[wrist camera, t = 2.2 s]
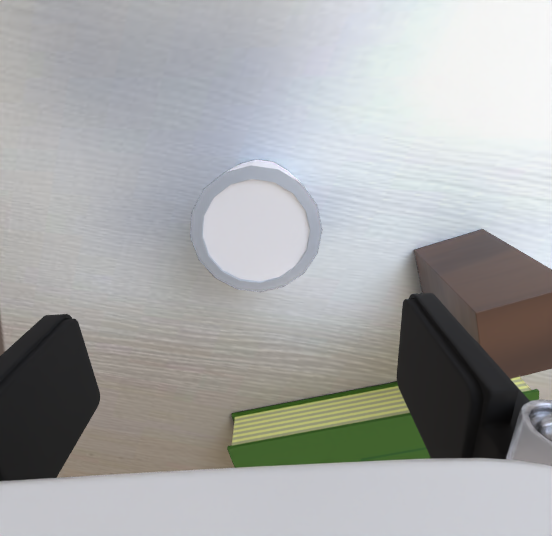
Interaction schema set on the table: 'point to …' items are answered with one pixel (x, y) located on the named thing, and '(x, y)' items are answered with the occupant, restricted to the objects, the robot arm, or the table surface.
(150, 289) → the table surface
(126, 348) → the table surface
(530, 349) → the walnut block
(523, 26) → the table surface
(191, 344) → the table surface
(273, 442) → the hardcover book
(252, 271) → the white cup
